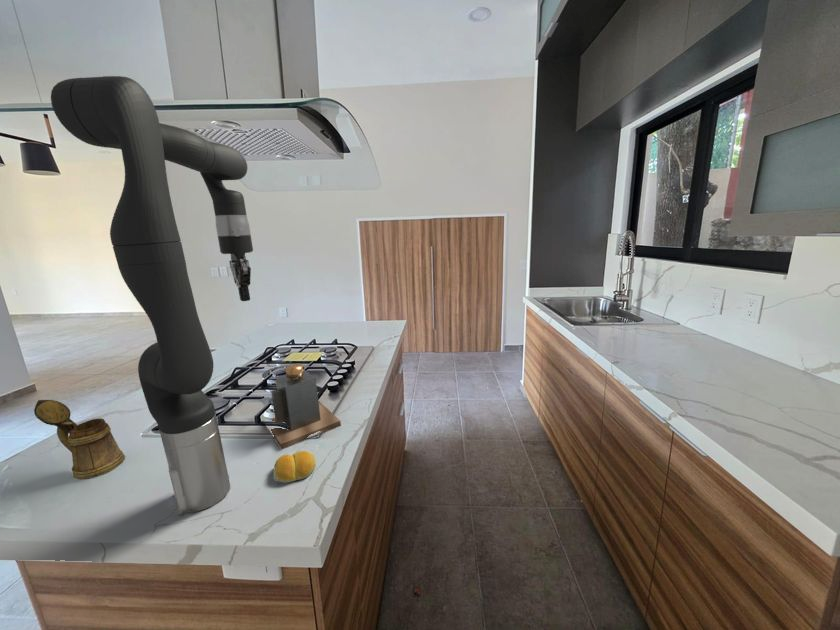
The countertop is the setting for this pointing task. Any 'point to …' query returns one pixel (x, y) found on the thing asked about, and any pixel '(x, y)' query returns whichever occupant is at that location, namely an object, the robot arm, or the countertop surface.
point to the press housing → (296, 401)
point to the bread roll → (294, 466)
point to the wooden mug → (82, 440)
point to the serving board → (305, 429)
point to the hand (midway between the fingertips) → (245, 300)
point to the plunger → (294, 371)
